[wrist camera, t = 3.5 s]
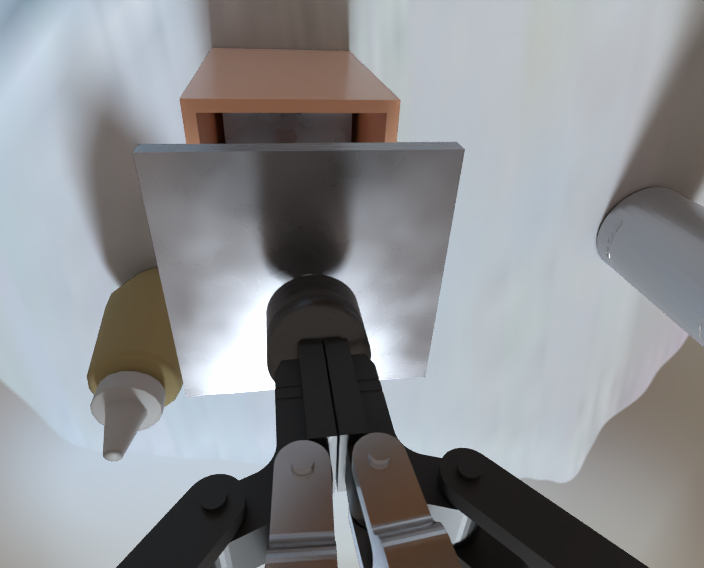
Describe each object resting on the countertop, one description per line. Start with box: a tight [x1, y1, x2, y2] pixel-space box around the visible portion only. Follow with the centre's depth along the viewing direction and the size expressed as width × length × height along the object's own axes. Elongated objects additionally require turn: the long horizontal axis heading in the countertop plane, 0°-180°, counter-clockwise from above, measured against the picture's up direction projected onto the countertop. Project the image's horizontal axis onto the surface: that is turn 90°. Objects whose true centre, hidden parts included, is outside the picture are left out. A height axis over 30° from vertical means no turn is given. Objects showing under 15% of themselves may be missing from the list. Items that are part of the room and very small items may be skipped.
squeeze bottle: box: [87, 268, 183, 461], centre depth 37 cm, size 8×8×18 cm
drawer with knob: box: [133, 113, 465, 397], centre depth 22 cm, size 10×10×20 cm
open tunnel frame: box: [180, 48, 400, 144], centre depth 31 cm, size 10×10×16 cm
